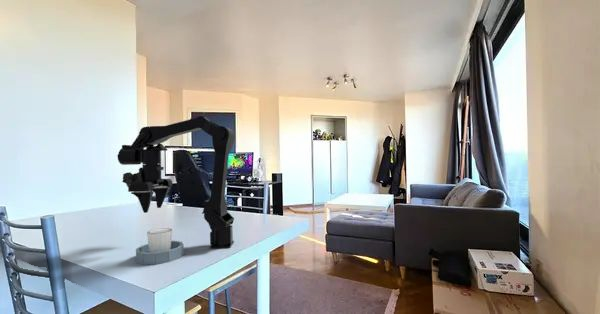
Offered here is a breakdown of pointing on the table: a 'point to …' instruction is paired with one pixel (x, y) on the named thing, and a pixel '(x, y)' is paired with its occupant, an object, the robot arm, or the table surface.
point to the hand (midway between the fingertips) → (152, 210)
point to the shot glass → (159, 239)
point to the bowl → (159, 254)
